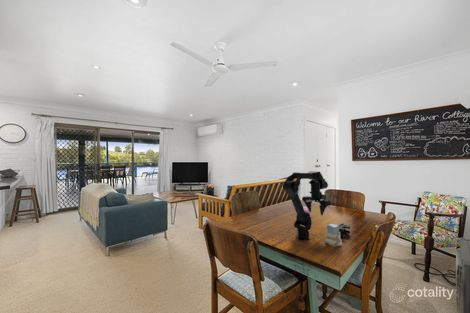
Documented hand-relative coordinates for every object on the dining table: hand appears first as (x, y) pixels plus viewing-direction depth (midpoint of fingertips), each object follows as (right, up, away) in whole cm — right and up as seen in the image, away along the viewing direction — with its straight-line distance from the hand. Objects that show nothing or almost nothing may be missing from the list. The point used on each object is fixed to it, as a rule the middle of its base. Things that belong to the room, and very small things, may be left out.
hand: (315, 213), depth 132 cm
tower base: (+4, -13, -17) cm, 21 cm away
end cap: (+14, -13, -5) cm, 20 cm away
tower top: (+3, -10, -16) cm, 19 cm away
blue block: (+3, -6, -17) cm, 18 cm away
